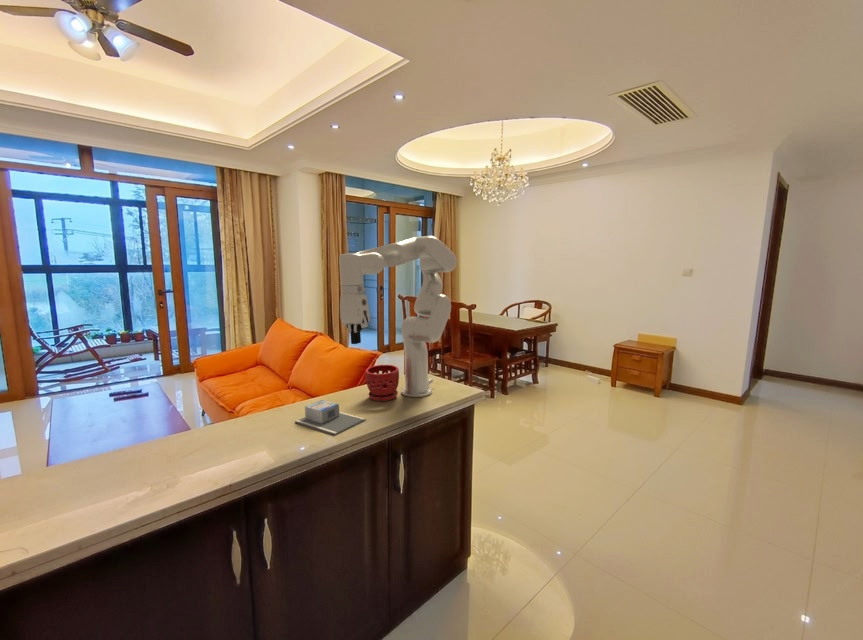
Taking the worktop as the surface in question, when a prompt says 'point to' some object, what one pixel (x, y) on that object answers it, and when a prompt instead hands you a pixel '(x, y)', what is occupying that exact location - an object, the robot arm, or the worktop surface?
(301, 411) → the worktop surface
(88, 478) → the worktop surface
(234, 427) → the worktop surface
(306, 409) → the medicine box
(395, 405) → the worktop surface
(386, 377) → the plant pot
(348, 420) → the mat
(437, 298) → the robot arm
